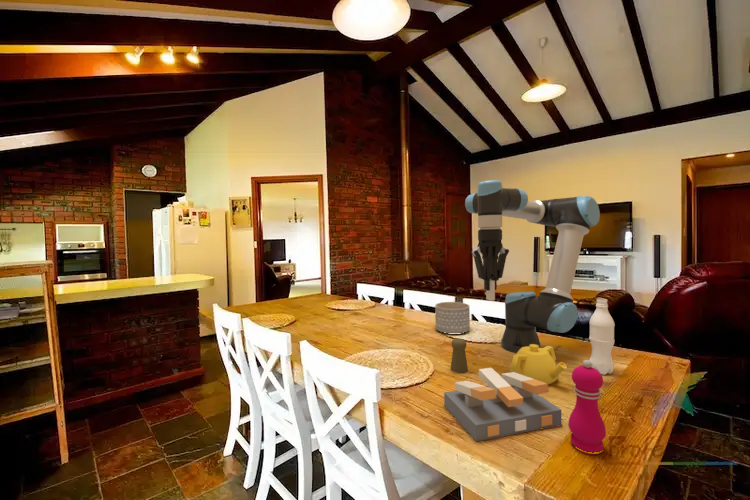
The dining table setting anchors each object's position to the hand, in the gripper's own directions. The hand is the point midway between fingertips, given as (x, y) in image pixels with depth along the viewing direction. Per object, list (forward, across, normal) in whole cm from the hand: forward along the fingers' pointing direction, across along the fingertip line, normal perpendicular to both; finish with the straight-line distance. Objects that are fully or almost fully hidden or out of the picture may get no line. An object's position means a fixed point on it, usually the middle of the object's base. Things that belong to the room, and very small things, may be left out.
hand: (490, 299), depth 113 cm
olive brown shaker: (+27, +7, -9) cm, 29 cm away
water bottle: (+27, -38, +7) cm, 47 cm away
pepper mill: (+27, 0, +38) cm, 46 cm away
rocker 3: (+18, +4, +21) cm, 28 cm away
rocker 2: (+18, +11, +21) cm, 30 cm away
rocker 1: (+18, +18, +21) cm, 33 cm away
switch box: (+26, +11, +21) cm, 35 cm away
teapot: (+27, -14, +6) cm, 31 cm away
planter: (+27, -12, -52) cm, 60 cm away
